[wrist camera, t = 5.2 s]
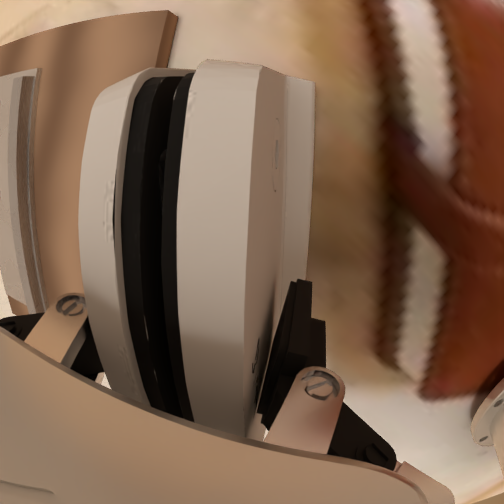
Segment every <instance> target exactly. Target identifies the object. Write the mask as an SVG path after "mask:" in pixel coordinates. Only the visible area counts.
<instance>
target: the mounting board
mask: <svg viewBox="0 0 504 504" xmlns="http://www.w3.org/2000/svg"><path fill="white" fill-rule="evenodd" d="M177 20H178V17H177V16H176V15H174V14H173V13H171V12H170V11H169V10H164V11H150V12H139V13H130V14H122V15H115V16H109V17H103V18H97V19H92V20H87V21H82V22H78V23H73V24H69V25H65V26H61V27H57V28H54V29H50V30H46V31H43V32H40V33H37V34H33V35H30V36H27V37H24V38H21V39H19V40H16V41H13V42H10V43H8V44H5V45H3V46H0V77H1V76H5V75H9V74H13V73H17V72H21V71H25V70H30V69H35V68H42V72H41V78H40V84H39V92H38V100H37V109H36V121H35V136H34V200H35V215H36V227H37V237H38V245H39V253H40V260H41V267H42V273H43V279H44V284H45V290H46V295H47V299H48V304H49V307H50V306H51V304H52V303H53V302H54V301H55V300H56V299H57V298H58V297H59V296H61V295H63V294H67V293H74V292H75V293H82V294H84V287H83V280H82V273H81V262H80V248H79V229H78V215H79V192H80V178H81V166H82V158H83V152H84V146H85V140H86V134H87V129H88V124H89V119H90V115H91V110H92V107H93V105H94V102H95V100H96V99H97V97H98V96H99V94H100V93H101V92H102V91H103V90H104V89H106V88H107V87H109V86H111V85H113V84H115V83H117V82H119V81H121V80H123V79H125V78H128V77H130V76H132V75H134V74H136V73H138V72H141V71H143V70H145V69H148V68H167V65H168V60H169V55H170V51H171V46H172V41H173V37H174V33H175V29H176V24H177ZM8 299H9V302H10V306H11V309H12V313H13V314H15V315H17V316H20V315H28V314H29V312H28V308H27V306H26V305H25V304H23V303H21V302H19V301H17V300H16V299H14V298H12V297H11V296H9V295H8Z"/></svg>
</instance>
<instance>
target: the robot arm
mask: <svg viewBox="0 0 504 504" xmlns="http://www.w3.org/2000/svg"><path fill="white" fill-rule="evenodd" d="M311 304H312V282H310V281H306V280H302V279H297V281H296V282H294V281H291V282H290V285H289V289H288V292H287V296H286V299H285V302H284V306H283V309H282V313H281V316H280V319H279V323H278V326H277V329H276V333H275V336H274V339H273V343H272V347H271V352H270V356H269V361H268V365H267V370H266V374H265V379H264V383H263V387H262V392H261V396H260V400H259V404H258V408H257V413H258V414H262V418H261V424H263V425H264V426H265V427H266V428H267V430H268V431H269V432H268V434H267V436H266V438H265V439H264V441H263V442H262V441H258V440H253V439H249V438H245V437H241V436H238V435H234V434H230V433H227V432H223V431H220V430H216V429H213V428H210V427H206V426H203V425H200V424H197V423H194V422H191V421H188V420H185V419H182V418H179V417H177V416H174V415H171V414H168V413H166V412H163V411H160V410H158V409H155V408H153V407H150V406H148V405H145V404H143V403H140V402H138V401H136V400H133V399H131V398H129V397H126V396H124V395H122V394H120V393H117V392H115V391H113V390H111V389H109V388H107V387H105V386H102V385H101V382H102V380H103V377H104V373H105V372H104V369H103V366H102V363H101V361H100V357H99V354H98V351H97V348H96V344H95V341H94V337H93V334H92V330H91V326H90V323H89V317H88V312H87V306H86V300H85V294H82V293H75V292H74V293H67V294H63V295H61V296H59V297H58V298H57V299H56V300H55V301H54V302H53V303H52V304H51V306H50V307H49V308H48V309H47V311H46V312H43V313H35V314H28V315H20V316H12V317H6V318H3V319H1V320H0V504H455V501H454V496H453V494H452V492H451V490H449V489H448V488H447V487H446V486H444V485H442V484H441V483H439V482H437V481H436V480H434V479H432V478H431V477H429V476H427V475H426V474H424V473H423V472H421V471H419V470H418V469H416V468H415V467H413V466H411V465H410V464H408V463H407V462H405V461H404V462H403V463H402V464H401V463H400V462H398V461H397V460H396V454H395V452H394V450H393V448H392V447H391V446H390V445H389V444H388V443H387V442H386V441H385V440H384V439H383V438H382V437H381V436H380V435H378V434H377V433H376V432H375V431H374V430H373V429H372V428H371V427H370V426H369V425H367V424H366V423H365V422H364V421H363V420H362V419H361V418H360V417H359V416H358V415H357V414H356V413H354V412H353V411H352V410H351V409H350V408H349V407H348V406H347V405H346V404H345V403H344V402H343V399H344V395H345V385H344V383H343V381H342V379H341V378H340V377H339V376H338V375H337V374H336V373H334V372H333V371H331V370H329V369H327V368H326V326H325V321H322V320H318V319H314V318H311ZM471 433H472V436H473V440H474V442H475V443H476V444H478V445H481V446H492V445H494V447H495V450H496V453H497V456H498V460H499V463H500V467H501V470H502V474H503V478H504V378H503V379H502V380H501V381H500V382H499V383H498V384H497V385H496V386H495V388H494V389H493V390H492V391H491V392H490V393H489V395H488V396H487V397H486V398H485V400H484V401H483V403H482V404H481V405H480V407H479V408H478V410H477V412H476V414H475V416H474V418H473V420H472V423H471Z"/></svg>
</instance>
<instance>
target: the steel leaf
mask: <svg viewBox="0 0 504 504" xmlns="http://www.w3.org/2000/svg"><path fill="white" fill-rule="evenodd" d="M41 72H42V68H35V69H30V70H25V71H21V72H17V73H13V74H9V75H5V76H1V77H0V270H1V274H2V279H3V283H4V287H5V291H6V294H7V295H9V296H11V297H12V298H14V299H16V300H17V301H19V302H21V303H23V304H25V305H26V306H27V308H28V312H29V314H35V313H43V312H46V311H47V309H48V308H49V304H48V299H47V295H46V290H45V284H44V279H43V273H42V267H41V260H40V253H39V245H38V237H37V227H36V215H35V200H34V136H35V121H36V109H37V100H38V92H39V84H40V78H41Z"/></svg>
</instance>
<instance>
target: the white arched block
mask: <svg viewBox="0 0 504 504" xmlns="http://www.w3.org/2000/svg"><path fill="white" fill-rule="evenodd" d="M314 133H315V82H313V81H309V80H305V79H300V78H296V77H291V76H287V75H283V74H281V73H279V72H276V71H274V70H272V69H269V68H267V67H265V66H262V65H256V64H248V63H240V62H231V61H221V60H209V59H207V60H205V61H203V62H201V64H200V65H199V66H198V68H197V70H190V69H175V68H148V69H145V70H143V71H141V72H138V73H136V74H134V75H132V76H130V77H128V78H125V79H123V80H121V81H119V82H117V83H115V84H113V85H111V86H109V87H107V88H106V89H104V90H103V91H102V92H101V93H100V94H99V96H98V97H97V99H96V100H95V102H94V105H93V107H92V110H91V115H90V119H89V124H88V129H87V134H86V140H85V146H84V152H83V158H82V166H81V178H80V192H79V215H78V229H79V248H80V262H81V273H82V280H83V287H84V294H85V300H86V306H87V312H88V317H89V323H90V326H91V330H92V334H93V337H94V341H95V344H96V348H97V351H98V354H99V357H100V361H101V363H102V366H103V369H104V372H105V374H106V377H107V379H108V382H109V385H110V387H111V389H112V390H113V391H115V392H117V393H120V394H122V395H124V396H126V397H129V398H131V399H133V400H136V401H138V402H140V403H143V404H145V405H148V406H150V407H153V408H155V409H158V410H160V411H163V412H166V413H168V414H171V415H174V416H177V417H179V418H182V419H185V420H188V421H191V422H194V423H197V424H200V425H203V426H206V427H210V428H213V429H216V430H220V431H223V432H227V433H230V434H234V435H238V436H241V437H245V438H249V439H253V440H258V441H262V442H263V439H264V434H265V430H266V427H265V426H264V425H263V424H261V418H262V414H258V413H257V408H258V404H259V400H260V396H261V392H262V387H263V383H264V379H265V374H266V370H267V365H268V361H269V356H270V352H271V347H272V343H273V339H274V336H275V333H276V329H277V326H278V323H279V319H280V316H281V313H282V309H283V306H284V302H285V299H286V296H287V292H288V289H289V285H290V282H291V281H294V282H296V281H297V279H302V280H306V270H307V258H308V246H309V233H310V218H311V202H312V184H313V162H314Z"/></svg>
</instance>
